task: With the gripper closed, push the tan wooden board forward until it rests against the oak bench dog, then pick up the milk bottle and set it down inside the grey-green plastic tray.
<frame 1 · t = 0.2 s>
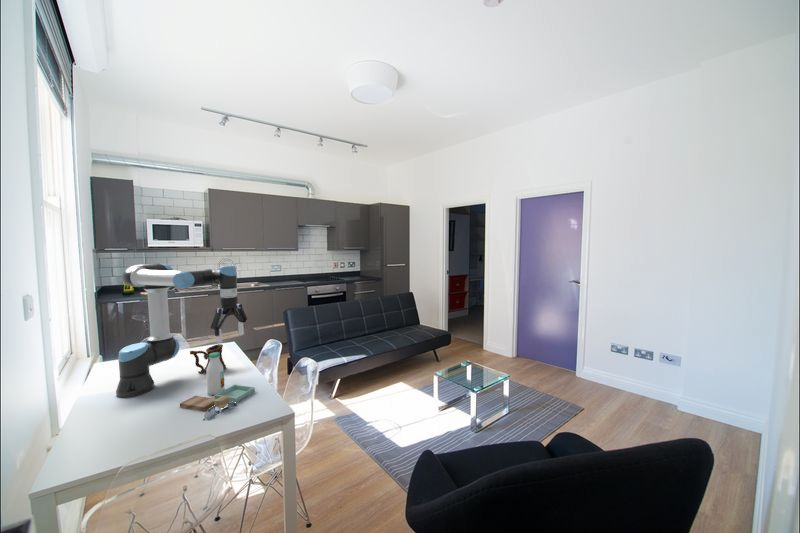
hand: (230, 338, 160), 27 cm above the table, fingers open, 13 cm apart
bench dog: (222, 409, 144), on the table
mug: (209, 372, 187), on the table
tray: (235, 396, 156), on the table
milk bottle: (215, 392, 161), on the table
tan wooden board: (199, 406, 147), on the table
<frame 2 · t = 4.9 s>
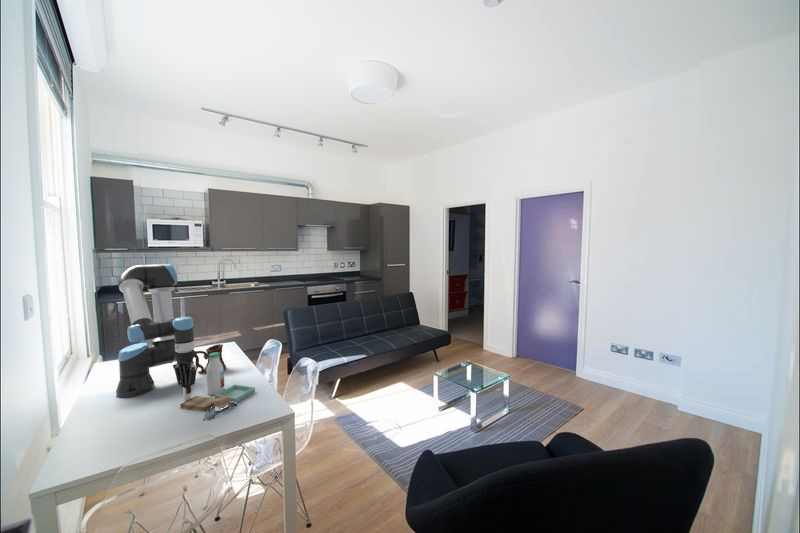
hand: (187, 399, 149), 2 cm above the table, fingers closed
tan wooden board: (200, 406, 147), on the table, touching gripper
everything else where it was.
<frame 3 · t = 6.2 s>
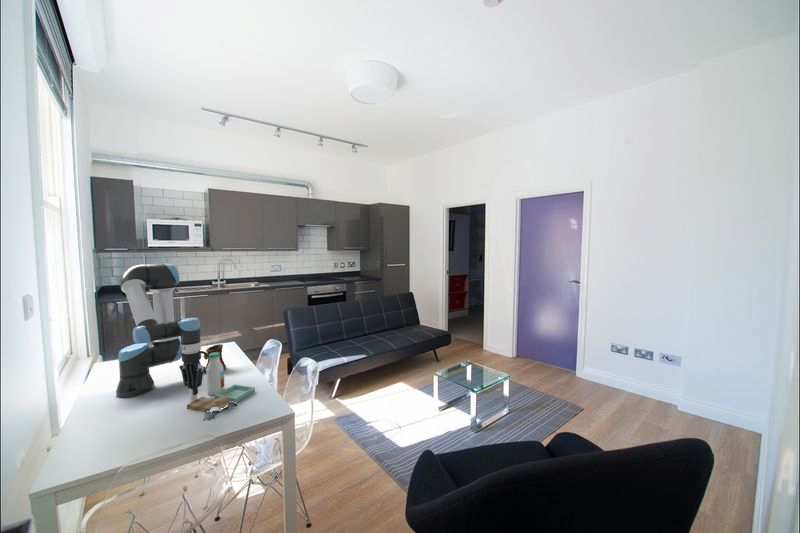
hand: (193, 401, 148), 2 cm above the table, fingers closed
tan wooden board: (206, 407, 146), on the table
everything else where it was.
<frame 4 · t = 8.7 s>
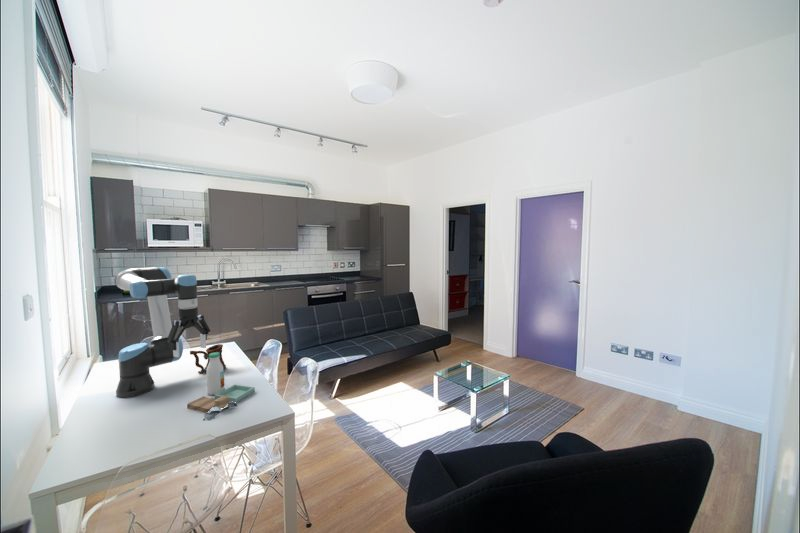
hand: (190, 352, 150), 24 cm above the table, fingers open, 13 cm apart
nothing on the table moved.
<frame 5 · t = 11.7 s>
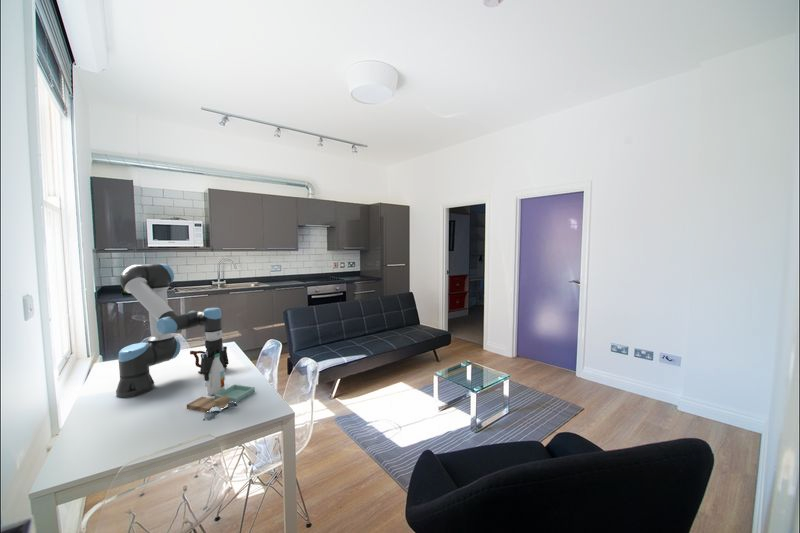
hand: (215, 382, 161), 5 cm above the table, fingers closed on milk bottle, 8 cm apart
milk bottle: (216, 392, 161), on the table, touching gripper
everything else where it was.
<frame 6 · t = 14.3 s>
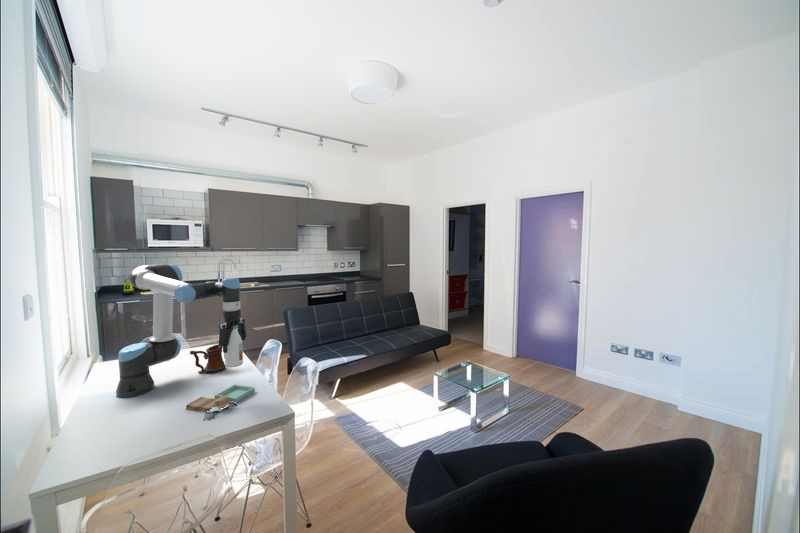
hand: (233, 355, 155), 20 cm above the table, fingers closed on milk bottle, 8 cm apart
milk bottle: (234, 365, 155), point 15 cm above the table, touching gripper
everything else where it was.
when the fingers open (6 cm above the table, at t = 17.2 s): milk bottle stays where it is, resting on tray.
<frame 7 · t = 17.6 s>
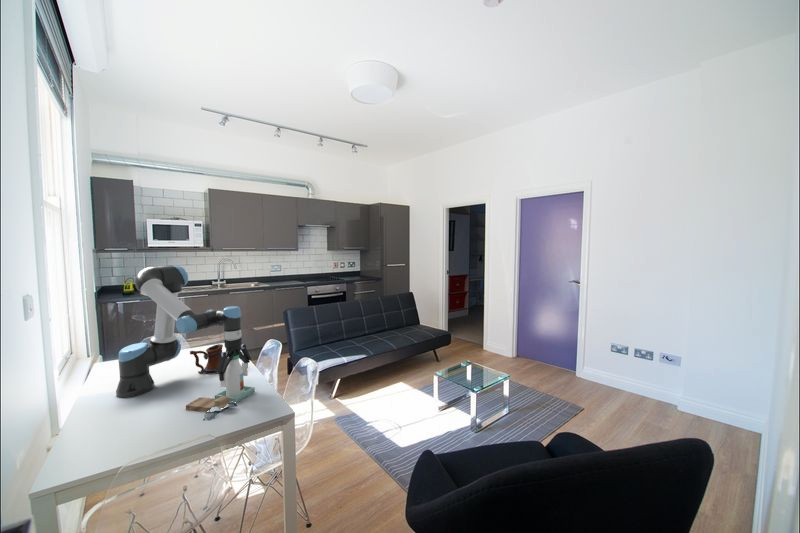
hand: (234, 380, 156), 8 cm above the table, fingers open, 13 cm apart
milk bottle: (235, 395, 156), resting on tray
everything else where it was.
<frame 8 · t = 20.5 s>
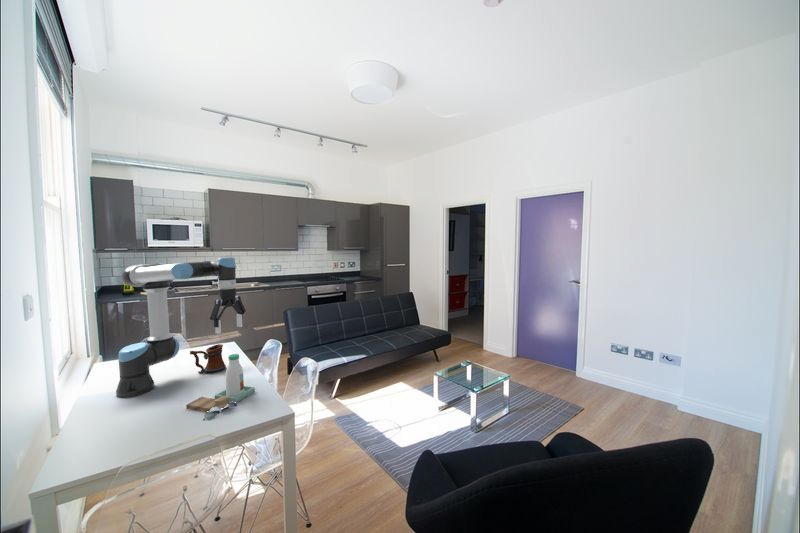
hand: (229, 330, 160), 32 cm above the table, fingers open, 13 cm apart
nothing on the table moved.
at the end: tan wooden board 0.4 cm from the target spot, on the table; milk bottle inside the target area on the tray (0.0 cm from its centre), point 0.4 cm above the tray's base; milk bottle tilted 0° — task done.
